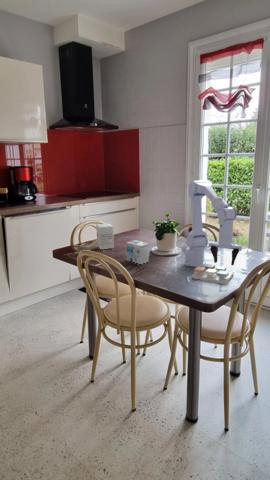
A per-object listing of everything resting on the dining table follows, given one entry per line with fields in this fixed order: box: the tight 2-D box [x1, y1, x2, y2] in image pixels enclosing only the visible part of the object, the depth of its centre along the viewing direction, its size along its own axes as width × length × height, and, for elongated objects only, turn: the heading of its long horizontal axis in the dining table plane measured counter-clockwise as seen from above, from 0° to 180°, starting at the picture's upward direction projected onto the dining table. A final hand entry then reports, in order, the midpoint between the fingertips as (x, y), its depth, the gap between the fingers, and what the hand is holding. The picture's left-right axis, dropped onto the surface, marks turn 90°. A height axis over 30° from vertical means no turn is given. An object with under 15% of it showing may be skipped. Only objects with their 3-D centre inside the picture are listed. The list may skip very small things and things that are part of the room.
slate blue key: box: [217, 270, 230, 278], centre depth 150 cm, size 4×4×2 cm
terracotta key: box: [193, 266, 206, 274], centre depth 155 cm, size 4×4×2 cm
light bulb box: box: [126, 239, 150, 265], centre depth 178 cm, size 11×7×11 cm, turn 45°
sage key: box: [215, 265, 227, 272], centre depth 156 cm, size 4×4×2 cm
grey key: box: [203, 263, 216, 270], centre depth 159 cm, size 4×4×2 cm
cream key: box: [206, 268, 217, 275], centre depth 152 cm, size 4×4×2 cm
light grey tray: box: [191, 266, 235, 285], centre depth 155 cm, size 16×13×2 cm
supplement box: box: [96, 222, 115, 249], centre depth 204 cm, size 9×9×15 cm
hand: (224, 263), depth 148 cm, fingers open, 7 cm apart
